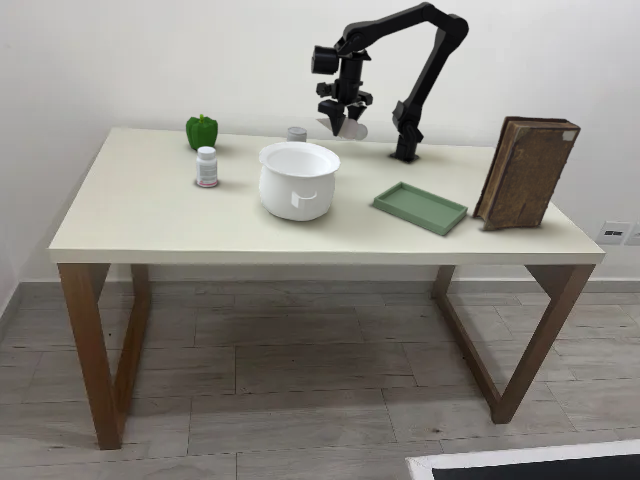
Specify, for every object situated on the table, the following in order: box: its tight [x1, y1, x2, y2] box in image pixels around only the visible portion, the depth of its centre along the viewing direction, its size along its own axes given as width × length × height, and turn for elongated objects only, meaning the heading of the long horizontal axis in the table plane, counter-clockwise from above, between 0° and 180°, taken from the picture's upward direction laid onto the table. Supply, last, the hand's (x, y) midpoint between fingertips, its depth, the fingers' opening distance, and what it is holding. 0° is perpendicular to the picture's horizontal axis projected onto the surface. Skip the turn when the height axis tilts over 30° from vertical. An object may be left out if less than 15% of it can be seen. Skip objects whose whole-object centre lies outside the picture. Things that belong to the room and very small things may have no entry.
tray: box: [372, 181, 469, 236], centre depth 117 cm, size 13×18×2 cm
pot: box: [258, 141, 342, 222], centre depth 109 cm, size 22×17×12 cm
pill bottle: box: [195, 147, 218, 188], centre depth 115 cm, size 5×5×8 cm
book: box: [471, 115, 582, 231], centre depth 110 cm, size 17×7×25 cm, turn 99°
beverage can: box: [285, 126, 308, 143], centre depth 123 cm, size 5×5×12 cm
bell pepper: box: [185, 113, 219, 152], centre depth 131 cm, size 8×8×10 cm
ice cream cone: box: [315, 116, 369, 142], centre depth 136 cm, size 6×6×15 cm
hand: (342, 133), depth 138 cm, fingers closed on ice cream cone, 6 cm apart
